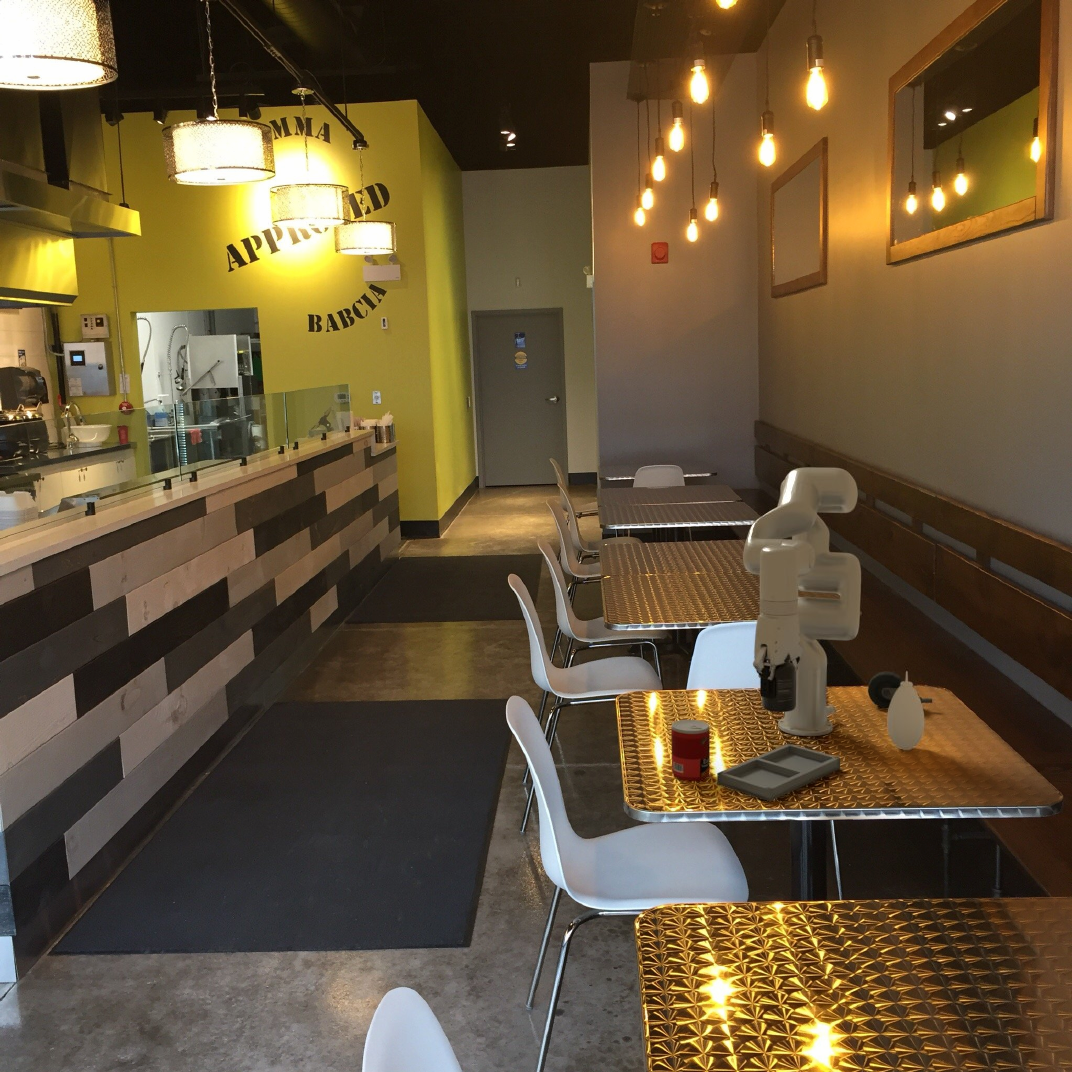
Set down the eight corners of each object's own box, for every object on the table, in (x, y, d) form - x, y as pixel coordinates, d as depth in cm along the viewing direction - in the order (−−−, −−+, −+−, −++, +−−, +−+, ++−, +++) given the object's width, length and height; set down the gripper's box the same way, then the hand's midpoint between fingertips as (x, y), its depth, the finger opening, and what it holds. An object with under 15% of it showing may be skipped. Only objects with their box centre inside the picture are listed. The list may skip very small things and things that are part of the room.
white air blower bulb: (885, 753, 234) (886, 674, 232) (887, 741, 242) (889, 665, 239) (922, 756, 232) (925, 676, 229) (924, 745, 239) (926, 667, 236)
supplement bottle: (798, 704, 217) (799, 647, 215) (792, 714, 211) (793, 655, 209) (765, 701, 220) (765, 645, 218) (758, 711, 214) (758, 653, 212)
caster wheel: (868, 713, 266) (932, 712, 260) (865, 675, 265) (929, 674, 259) (870, 706, 271) (933, 706, 265) (867, 669, 270) (930, 668, 264)
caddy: (788, 754, 235) (788, 743, 235) (840, 769, 226) (840, 757, 225) (717, 784, 219) (717, 773, 219) (769, 801, 209) (769, 789, 209)
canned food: (709, 782, 220) (708, 731, 219) (670, 780, 222) (669, 730, 220) (710, 769, 228) (710, 719, 226) (673, 767, 229) (672, 718, 228)
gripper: (787, 597, 221) (786, 681, 224) (737, 611, 209) (737, 699, 212) (819, 602, 216) (818, 687, 218) (769, 617, 204) (769, 707, 206)
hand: (778, 692), depth 215 cm, fingers closed on supplement bottle, 6 cm apart
